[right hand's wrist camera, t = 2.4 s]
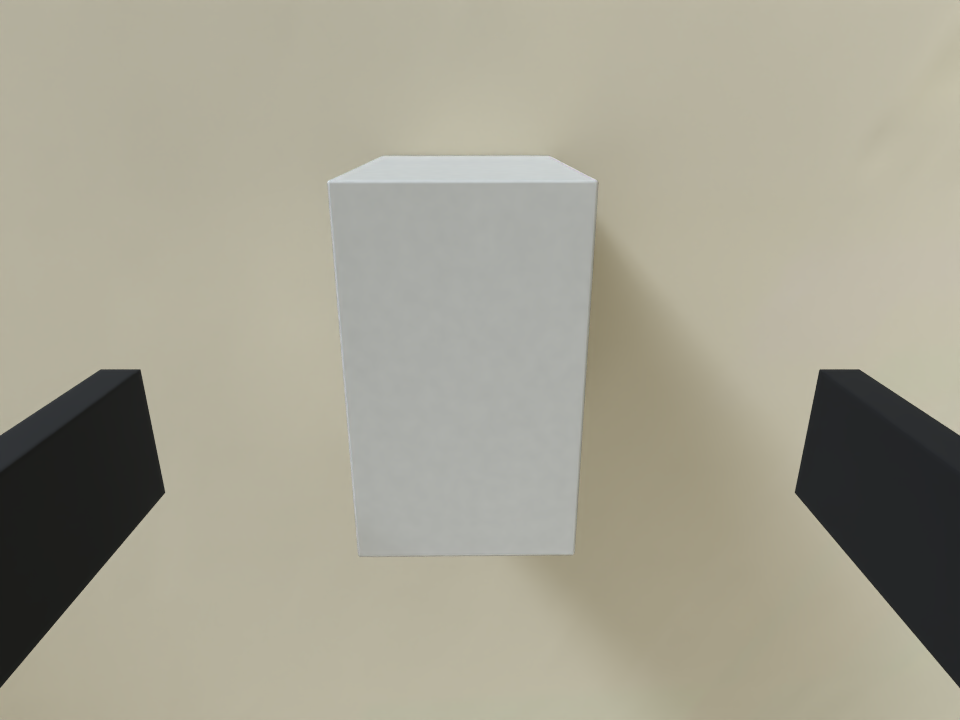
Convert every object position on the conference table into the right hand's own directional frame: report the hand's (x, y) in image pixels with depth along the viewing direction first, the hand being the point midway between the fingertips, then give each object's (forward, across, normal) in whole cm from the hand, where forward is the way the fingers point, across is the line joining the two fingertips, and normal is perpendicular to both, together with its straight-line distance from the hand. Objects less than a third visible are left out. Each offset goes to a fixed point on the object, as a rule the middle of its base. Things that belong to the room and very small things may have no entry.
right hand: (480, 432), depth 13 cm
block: (+10, 0, 0) cm, 10 cm away
